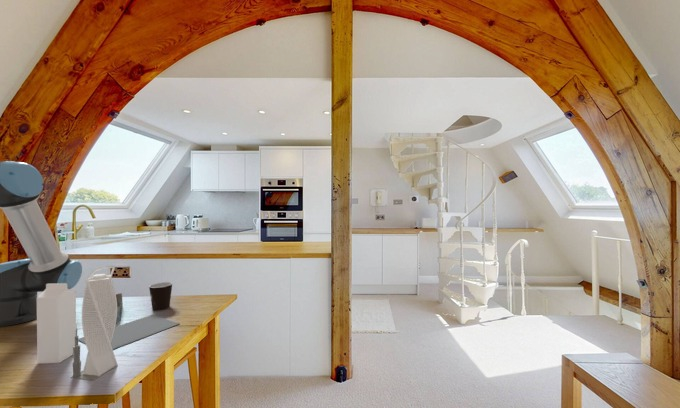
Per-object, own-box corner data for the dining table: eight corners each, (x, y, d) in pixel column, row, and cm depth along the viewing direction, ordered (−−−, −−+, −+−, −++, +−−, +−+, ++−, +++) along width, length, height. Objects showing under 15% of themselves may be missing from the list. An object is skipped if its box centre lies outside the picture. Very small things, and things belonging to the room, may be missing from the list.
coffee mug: (169, 310, 125) (169, 286, 125) (146, 312, 122) (145, 288, 122) (176, 301, 136) (176, 279, 136) (155, 303, 134) (155, 281, 134)
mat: (77, 340, 98) (77, 339, 98) (152, 315, 119) (152, 314, 119) (103, 353, 89) (103, 352, 89) (179, 324, 111) (179, 323, 111)
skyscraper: (101, 361, 85) (100, 265, 85) (125, 364, 84) (124, 266, 84) (70, 378, 77) (69, 272, 77) (97, 381, 76) (95, 273, 76)
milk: (56, 353, 90) (55, 280, 90) (77, 352, 90) (76, 280, 90) (36, 364, 84) (35, 286, 84) (59, 363, 84) (58, 286, 84)
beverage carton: (94, 326, 109) (94, 308, 109) (99, 310, 125) (99, 295, 125) (121, 321, 114) (120, 304, 114) (122, 307, 130) (122, 292, 130)
